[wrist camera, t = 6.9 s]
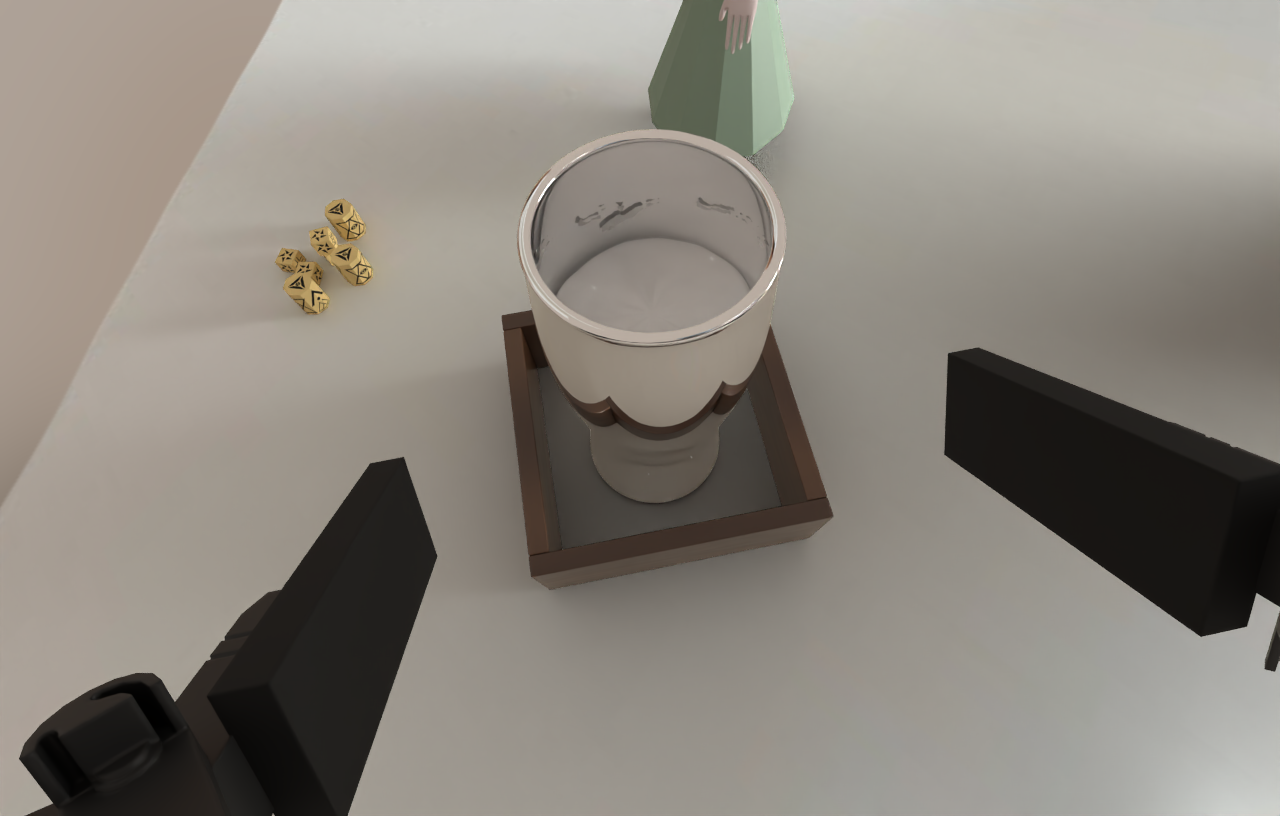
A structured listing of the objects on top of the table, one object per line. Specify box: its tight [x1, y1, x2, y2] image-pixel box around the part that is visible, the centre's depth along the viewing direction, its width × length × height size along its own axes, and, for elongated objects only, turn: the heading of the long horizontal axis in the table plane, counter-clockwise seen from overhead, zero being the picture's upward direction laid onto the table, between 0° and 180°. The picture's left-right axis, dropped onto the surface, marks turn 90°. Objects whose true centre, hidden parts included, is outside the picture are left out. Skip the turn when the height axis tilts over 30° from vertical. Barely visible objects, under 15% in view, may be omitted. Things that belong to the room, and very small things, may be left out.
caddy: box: [502, 310, 833, 590], centre depth 26 cm, size 12×12×4 cm
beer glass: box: [517, 129, 787, 503], centre depth 21 cm, size 7×7×15 cm
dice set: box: [275, 199, 373, 314], centre depth 32 cm, size 5×5×2 cm
